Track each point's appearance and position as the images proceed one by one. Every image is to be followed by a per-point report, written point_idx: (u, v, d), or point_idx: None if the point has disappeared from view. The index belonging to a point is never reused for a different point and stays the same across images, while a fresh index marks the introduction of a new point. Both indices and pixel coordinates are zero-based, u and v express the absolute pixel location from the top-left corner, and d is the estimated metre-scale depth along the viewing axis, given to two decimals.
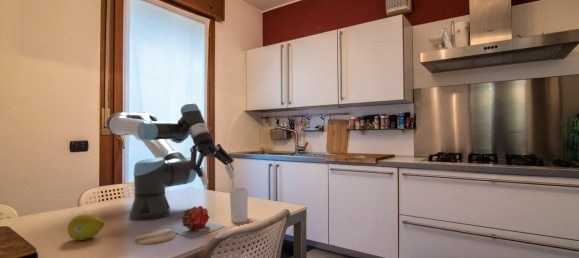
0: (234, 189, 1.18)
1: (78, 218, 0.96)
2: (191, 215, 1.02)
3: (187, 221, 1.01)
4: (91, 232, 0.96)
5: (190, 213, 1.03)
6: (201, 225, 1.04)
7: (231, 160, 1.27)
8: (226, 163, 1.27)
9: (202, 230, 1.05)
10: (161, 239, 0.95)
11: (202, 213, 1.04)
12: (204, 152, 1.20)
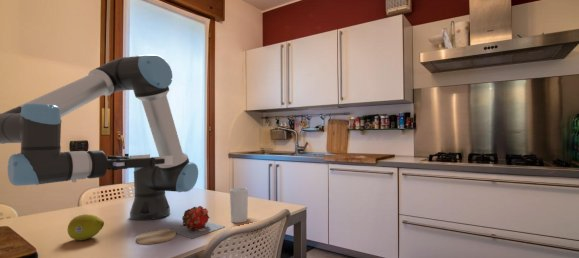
0: (234, 189, 1.18)
1: (78, 218, 0.96)
2: (191, 215, 1.02)
3: (187, 221, 1.01)
4: (91, 232, 0.96)
5: (190, 213, 1.03)
6: (201, 225, 1.04)
7: (152, 168, 0.87)
8: None
9: (202, 230, 1.05)
10: (161, 239, 0.95)
11: (202, 213, 1.04)
12: None
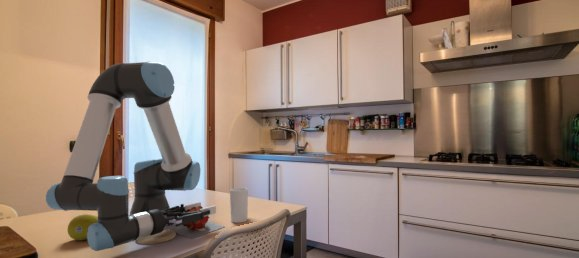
0: (234, 189, 1.18)
1: (78, 218, 0.96)
2: None
3: None
4: None
5: None
6: (201, 225, 1.04)
7: None
8: None
9: (202, 230, 1.05)
10: (161, 239, 0.95)
11: None
12: None
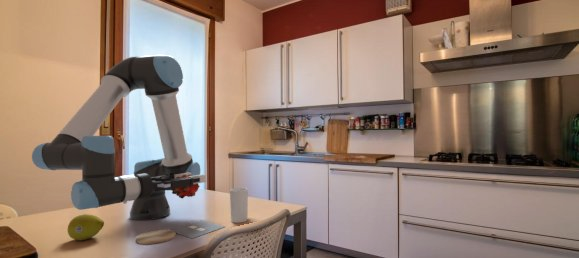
0: (234, 189, 1.18)
1: (78, 218, 0.96)
2: None
3: (176, 188, 0.99)
4: (91, 232, 0.96)
5: None
6: (191, 193, 1.02)
7: None
8: None
9: (202, 230, 1.05)
10: (161, 239, 0.95)
11: None
12: None
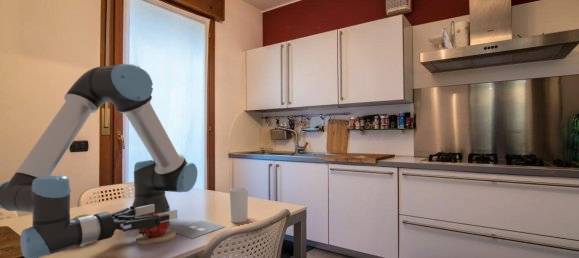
0: (234, 189, 1.18)
1: (78, 217, 0.96)
2: None
3: (142, 228, 0.93)
4: None
5: None
6: (159, 233, 0.96)
7: (157, 226, 0.91)
8: None
9: (202, 230, 1.05)
10: (161, 239, 0.95)
11: None
12: None
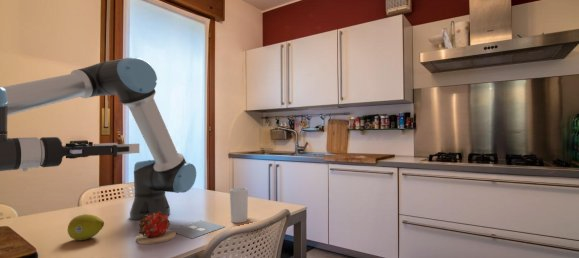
0: (234, 189, 1.18)
1: (78, 217, 0.96)
2: (147, 222, 0.94)
3: (142, 228, 0.93)
4: (91, 232, 0.96)
5: (146, 220, 0.95)
6: (159, 233, 0.96)
7: None
8: None
9: (202, 230, 1.05)
10: (161, 239, 0.95)
11: (160, 219, 0.96)
12: None
